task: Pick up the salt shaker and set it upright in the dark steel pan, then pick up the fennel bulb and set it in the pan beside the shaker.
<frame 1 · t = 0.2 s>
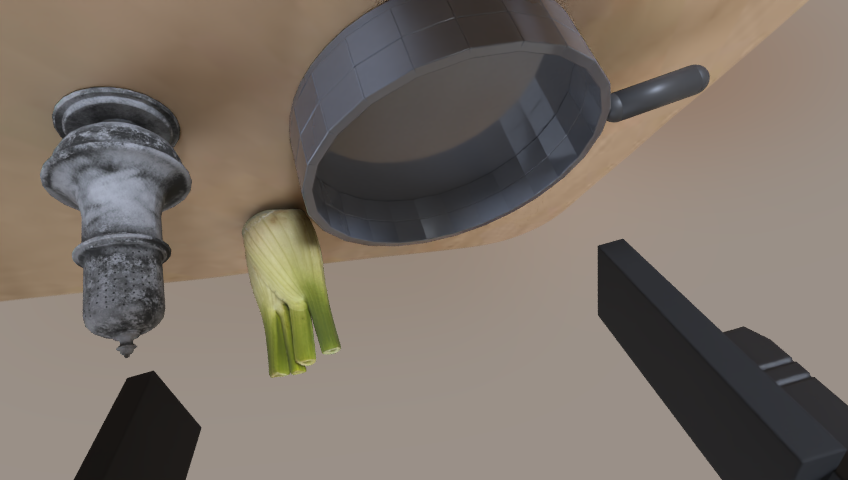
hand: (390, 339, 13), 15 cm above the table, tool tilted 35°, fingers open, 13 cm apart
fennel bulb: (275, 215, 34), on the table
pan: (437, 117, 29), on the table
salt shaker: (120, 123, 22), on the table
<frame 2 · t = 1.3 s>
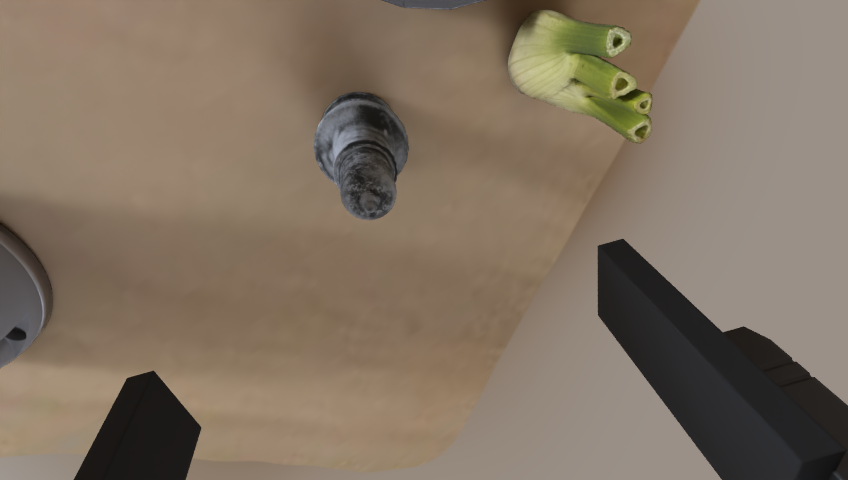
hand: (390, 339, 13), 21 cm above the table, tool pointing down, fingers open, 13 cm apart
fennel bulb: (535, 52, 30), on the table
salt shaker: (359, 130, 31), on the table
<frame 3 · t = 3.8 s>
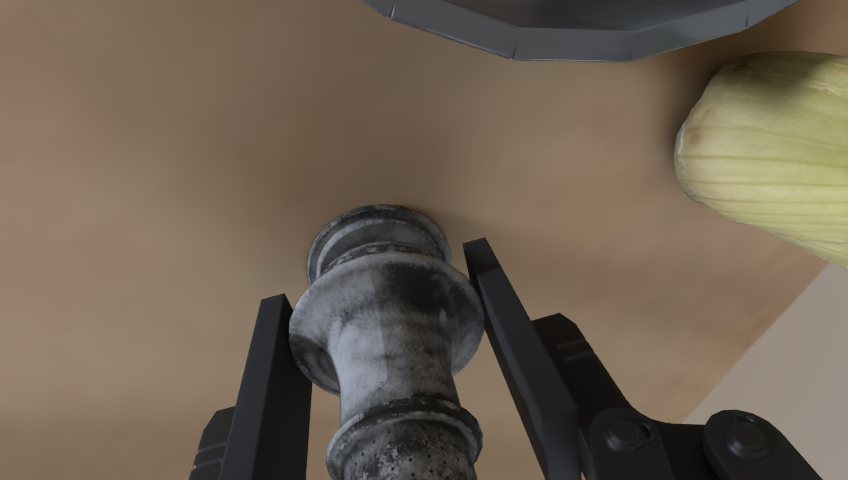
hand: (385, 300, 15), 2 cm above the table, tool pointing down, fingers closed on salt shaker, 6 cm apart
fennel bulb: (720, 122, 15), on the table
salt shaker: (380, 265, 16), on the table, touching gripper
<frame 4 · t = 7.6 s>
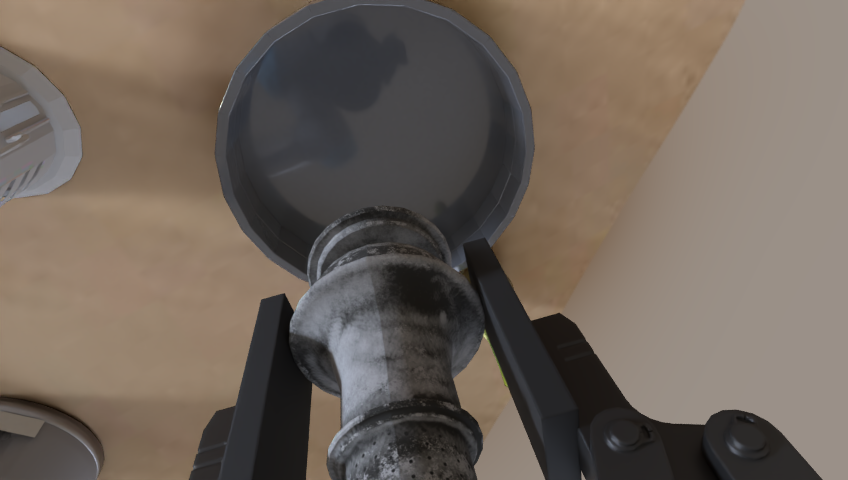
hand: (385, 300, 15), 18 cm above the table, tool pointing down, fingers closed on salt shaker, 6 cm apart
french press: (2, 117, 26), on the table
pan: (378, 147, 31), on the table
salt shaker: (380, 266, 16), point 16 cm above the table, touching gripper
when the fingers open (2 cm above the table, at t = 11.6 s): salt shaker stays where it is, resting on pan.
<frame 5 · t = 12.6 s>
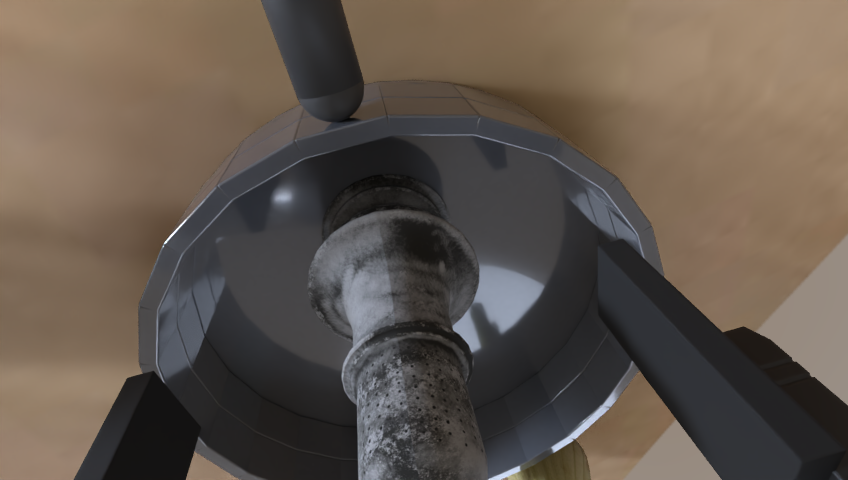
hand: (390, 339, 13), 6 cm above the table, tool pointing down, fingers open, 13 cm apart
fennel bulb: (532, 433, 28), on the table
pan: (407, 293, 20), on the table
salt shaker: (387, 231, 18), resting on pan
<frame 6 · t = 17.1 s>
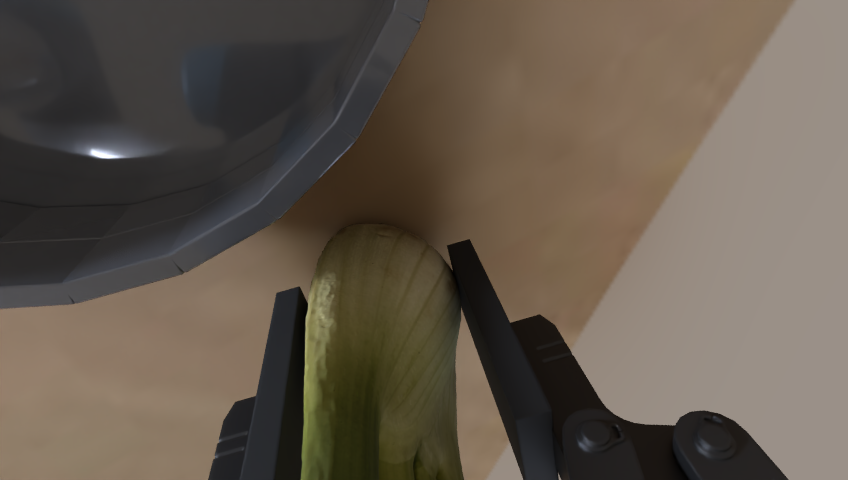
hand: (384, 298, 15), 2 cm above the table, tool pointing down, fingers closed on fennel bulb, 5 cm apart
fennel bulb: (380, 265, 16), on the table, touching gripper
when the fingers open (2 cm above the table, at t = 23.9 s): fennel bulb stays where it is, resting on pan.
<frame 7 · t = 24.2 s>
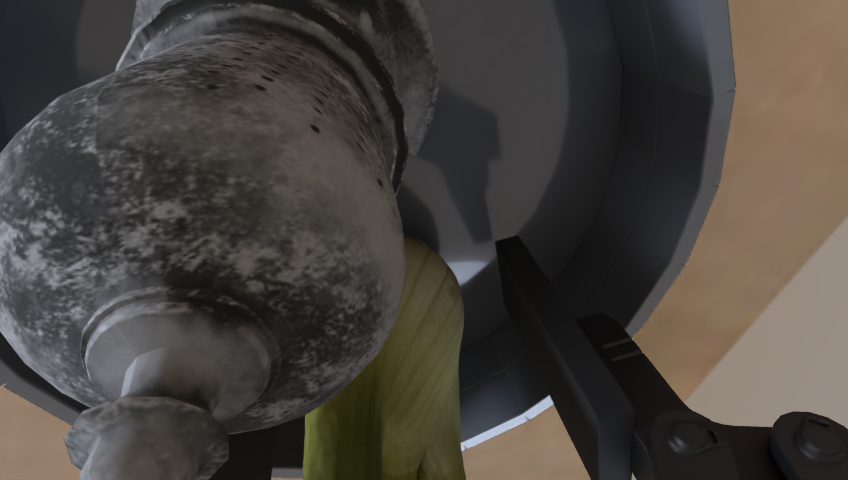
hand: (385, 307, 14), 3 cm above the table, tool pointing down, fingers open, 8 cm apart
fennel bulb: (382, 269, 16), resting on pan
pan: (348, 172, 14), on the table
salt shaker: (307, 54, 12), resting on pan
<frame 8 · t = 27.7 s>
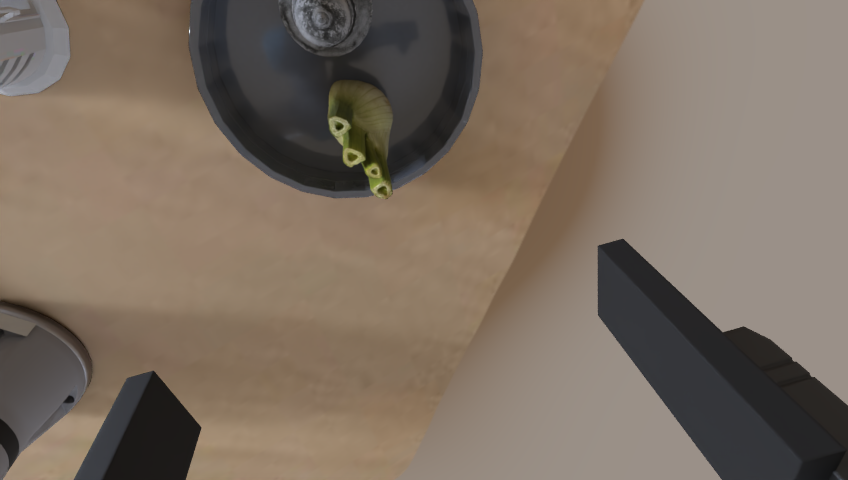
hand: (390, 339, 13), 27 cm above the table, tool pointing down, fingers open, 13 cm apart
fennel bulb: (359, 108, 35), resting on pan
pan: (343, 58, 33), on the table
salt shaker: (327, 4, 31), resting on pan
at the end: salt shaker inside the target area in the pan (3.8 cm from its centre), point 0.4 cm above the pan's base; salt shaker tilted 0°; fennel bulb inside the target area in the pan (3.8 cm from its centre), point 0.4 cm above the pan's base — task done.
